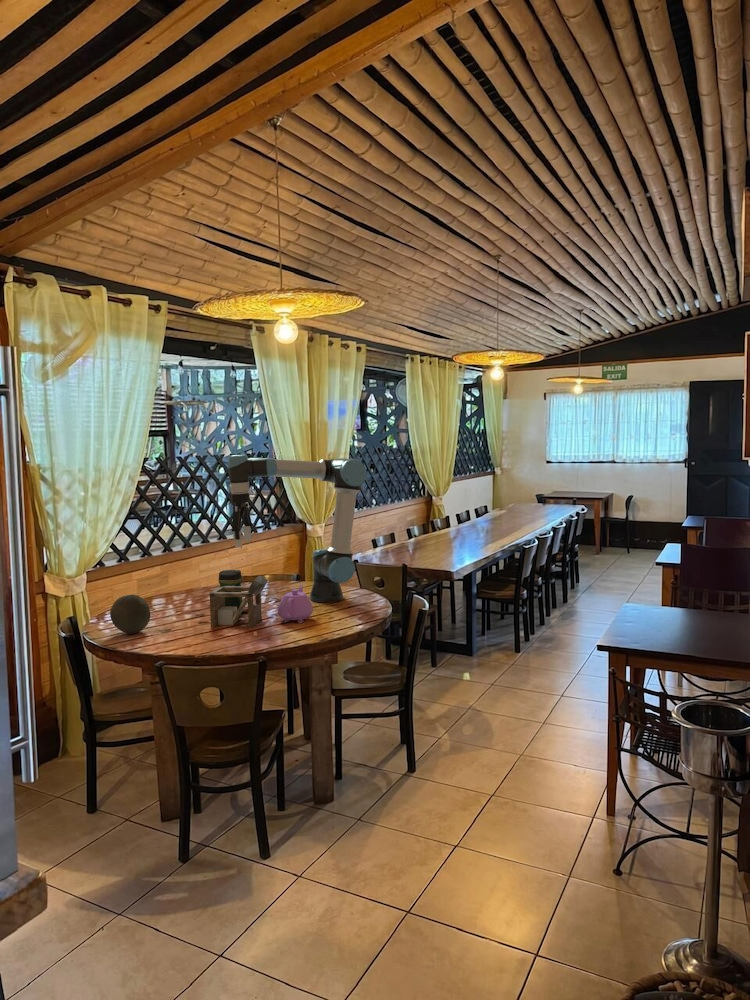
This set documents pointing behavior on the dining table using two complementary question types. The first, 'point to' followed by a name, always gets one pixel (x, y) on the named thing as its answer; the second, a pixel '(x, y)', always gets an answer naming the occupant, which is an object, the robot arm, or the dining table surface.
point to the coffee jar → (231, 580)
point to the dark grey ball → (130, 614)
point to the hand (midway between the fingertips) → (243, 544)
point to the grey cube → (226, 615)
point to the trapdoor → (256, 588)
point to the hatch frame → (219, 596)
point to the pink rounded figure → (295, 606)
